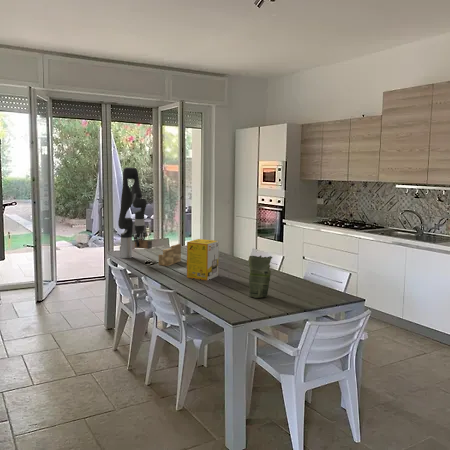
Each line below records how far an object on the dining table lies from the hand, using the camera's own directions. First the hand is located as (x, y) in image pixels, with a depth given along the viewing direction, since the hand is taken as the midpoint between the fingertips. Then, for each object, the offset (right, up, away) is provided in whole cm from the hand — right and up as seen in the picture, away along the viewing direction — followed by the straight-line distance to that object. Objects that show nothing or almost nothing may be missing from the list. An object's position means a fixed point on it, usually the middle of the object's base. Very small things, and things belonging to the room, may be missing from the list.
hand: (139, 246), depth 357 cm
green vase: (+87, -26, -81) cm, 121 cm away
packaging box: (+51, -20, -34) cm, 64 cm away
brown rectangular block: (+3, -1, -1) cm, 3 cm away
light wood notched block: (+23, -14, +8) cm, 28 cm away
